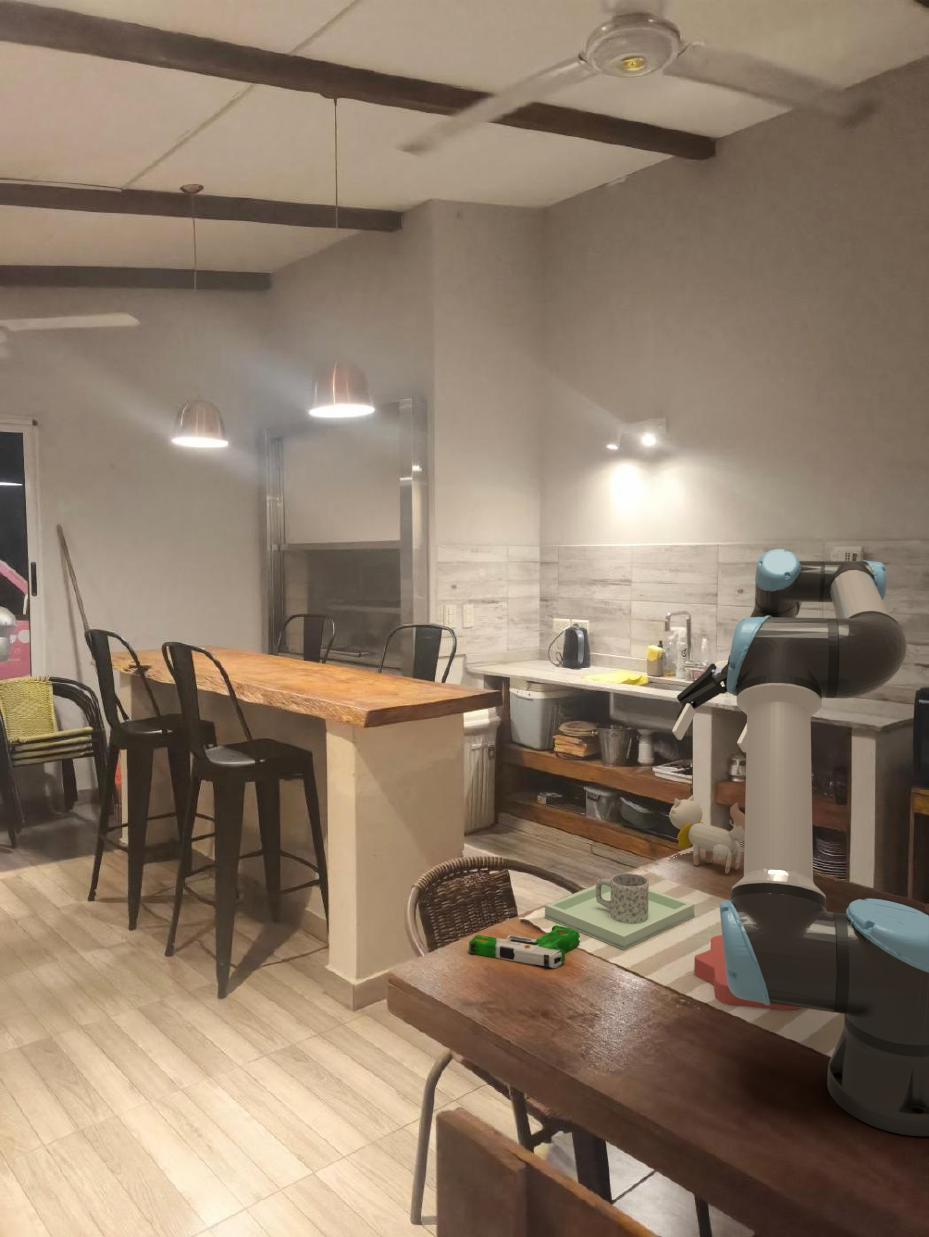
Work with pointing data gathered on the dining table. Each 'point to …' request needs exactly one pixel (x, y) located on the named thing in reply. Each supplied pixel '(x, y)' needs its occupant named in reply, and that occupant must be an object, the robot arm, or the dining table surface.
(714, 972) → the plaque
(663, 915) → the tray
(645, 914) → the mug
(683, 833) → the toy
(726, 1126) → the dining table surface
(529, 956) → the handgun
